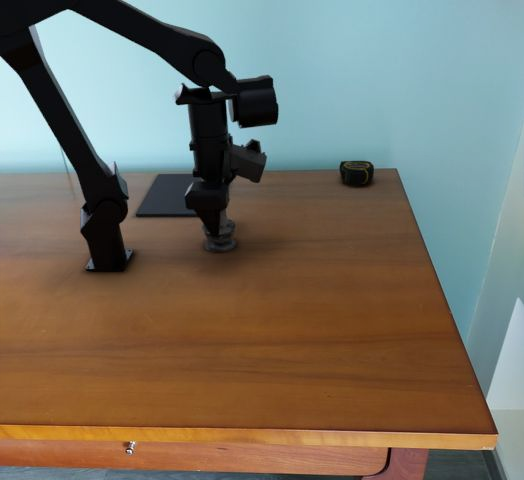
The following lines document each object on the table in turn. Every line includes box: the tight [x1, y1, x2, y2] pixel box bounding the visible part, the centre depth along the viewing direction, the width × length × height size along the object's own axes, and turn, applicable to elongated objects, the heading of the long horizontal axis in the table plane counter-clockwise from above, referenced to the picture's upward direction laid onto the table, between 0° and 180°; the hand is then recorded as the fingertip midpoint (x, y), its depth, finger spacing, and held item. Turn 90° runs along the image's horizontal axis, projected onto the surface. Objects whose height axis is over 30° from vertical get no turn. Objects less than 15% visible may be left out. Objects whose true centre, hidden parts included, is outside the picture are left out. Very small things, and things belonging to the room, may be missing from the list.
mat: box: [135, 173, 202, 218], centre depth 109 cm, size 20×16×1 cm
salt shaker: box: [201, 208, 237, 253], centre depth 88 cm, size 6×6×12 cm
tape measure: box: [338, 160, 375, 186], centre depth 110 cm, size 7×7×4 cm
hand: (218, 226), depth 90 cm, fingers closed on salt shaker, 7 cm apart
